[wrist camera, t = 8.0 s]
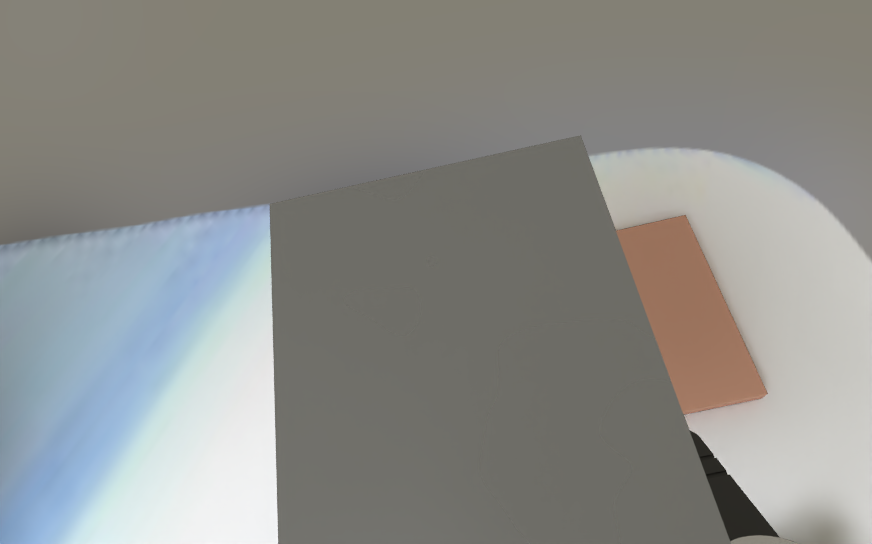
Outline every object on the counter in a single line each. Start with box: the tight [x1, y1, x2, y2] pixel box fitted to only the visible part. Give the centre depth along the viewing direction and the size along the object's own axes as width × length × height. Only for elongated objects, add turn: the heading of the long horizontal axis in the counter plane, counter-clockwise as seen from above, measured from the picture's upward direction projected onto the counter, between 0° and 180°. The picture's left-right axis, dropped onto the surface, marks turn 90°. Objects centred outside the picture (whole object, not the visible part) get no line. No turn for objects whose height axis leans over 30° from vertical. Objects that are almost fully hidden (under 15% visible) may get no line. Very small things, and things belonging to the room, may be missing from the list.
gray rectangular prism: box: [270, 136, 731, 544], centre depth 10 cm, size 4×7×10 cm, turn 9°
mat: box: [616, 215, 768, 415], centre depth 30 cm, size 12×10×1 cm
